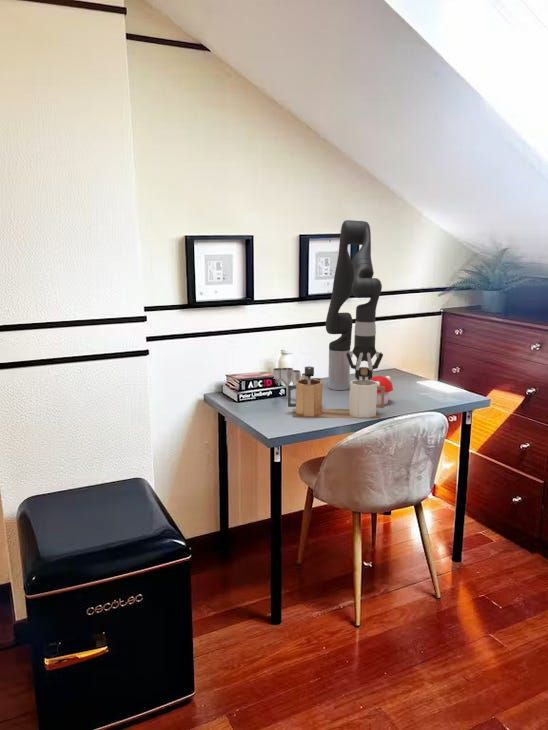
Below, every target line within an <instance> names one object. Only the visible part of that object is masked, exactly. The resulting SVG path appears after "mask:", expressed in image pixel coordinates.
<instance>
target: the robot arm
mask: <svg viewBox="0 0 548 730" xmlns="http://www.w3.org/2000/svg"><path fill="white" fill-rule="evenodd" d="M371 239H372V234H371V226H370V224H369V222H368V221H364V220H354V219H353V220H352V219H351V220H350V219H348V220H347V219H346V220H344V221H343V222H342V224H341V228H340V236H339V243H338V244H339V245H338V246H339V247H338V253H337V254H338V255H337V261H336V267H335V271H334V275H333V276H334V277H333V283H332V290H331V291H332V292H331V297H330V298H331V299H330V302H329V306H328V310H327V314H326V318H325V330H326V333H328V334H329V335H340V336H339V337H338V338H337V339H335V340H332V341H330V342H329V345H328V377H327V378H328V381H327V382H328V384H327V388H328V389H329V390H332V391H333V390H334V391H346V390H348V389H349V390H350V373H351V371H350V370H351V369H353V370H355V371H354V373H355V374H354V377H355V380H356V379H357V380H359V379H360V376H359V374H360V370H359V368H360V367H361V364H362V362H367V367H368V368H369V372H368V377H367V379H368V380H370V379H372V377H373V371H374V370H375V369H379V366H380V363H381V361H382V359H383V357H384V354H383V353H382V352H380V351H377V350H376V349H377V348H376V335H377V334H376V333H377V329H376V328H377V325H376V315H377V314H376V312H377V307H378V303H379V298H380V297H381V293H382V288H383V286H382V282H381V279H379V278H377V277H374V273H375V272H374V268H373V267H374V266H373V263H372V262H373V261H372V256H371V255H372V241H371ZM349 245H352V246H361V247H360V248H359V250H358V251H357V252H356V253H355V255H354V256H353V259H352V258H351V255H350V253H349V250H348V249H349V248H348V247H349ZM352 295H353V296H354V297H355V298H359V299H367V298H368V299H369V300H368V301H367V302H365V303H363V304H358V305H357V306H356V308H355V325H354V342H353V344H354V345H353V348H352V351H351V345H352V333H353V317H352V314H351V313H350V312H340V310H341V308H342V306H343V305H344V303H345V302H346V301H347V300H348V299H349V298H350V297H351V296H352ZM353 356H355V358H356V363H355V364H354V362H353V360H352V358H353ZM374 357H376V359H375V361H374V363H373V362H372V359H373V358H374ZM350 368H351V369H350Z"/></svg>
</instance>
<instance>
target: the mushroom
mask: <svg viewBox="0 0 548 730" xmlns="http://www.w3.org/2000/svg"><path fill="white" fill-rule="evenodd" d="M391 379H392V378H391V376H389V375H386V376H382V375H375V376H372V379H370V380H372V381H376V383H377V386H384V387H385V394H384V405H387V404H389V403H388V402H389V398H390V396H389V395H390V394H389V393H390V392H392V391H394V388H393V387H394V386H393V383H392V381H391ZM376 404H381V390H377V402H376Z"/></svg>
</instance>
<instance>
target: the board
mask: <svg viewBox="0 0 548 730" xmlns="http://www.w3.org/2000/svg"><path fill="white" fill-rule="evenodd" d="M292 418H296V419H298V418H302V419H303V418H304V419H306V418H307V419H309V418H311V419H318V418H319V419H320V418H321V419H360V418H359V417H355V416H351V415H350V414H349V409H347V408H345V409H344V408H322V415H319V416H316V417H302V416H299V415H296V408H292ZM369 419H381V416H380V413H379V412H378V409H376V416H373V417H370V418H369Z"/></svg>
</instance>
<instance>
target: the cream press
mask: <svg viewBox="0 0 548 730" xmlns="http://www.w3.org/2000/svg"><path fill="white" fill-rule="evenodd" d="M377 390H381V404H376V402H377ZM384 394H385V387H384V386H377V383H376V381H372V380H368V378H365V385H362V378H361V379H360V378H359V380H357V379H356V378H355V379H352V380H349V399H348V400H349V401H348V402H349V405H348V408H349V414H350V415H351V416H355V417H359V418H358V419H371V418H370V417H373V416H376V410H377V409H378V408H379V409H385V404H384Z"/></svg>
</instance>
